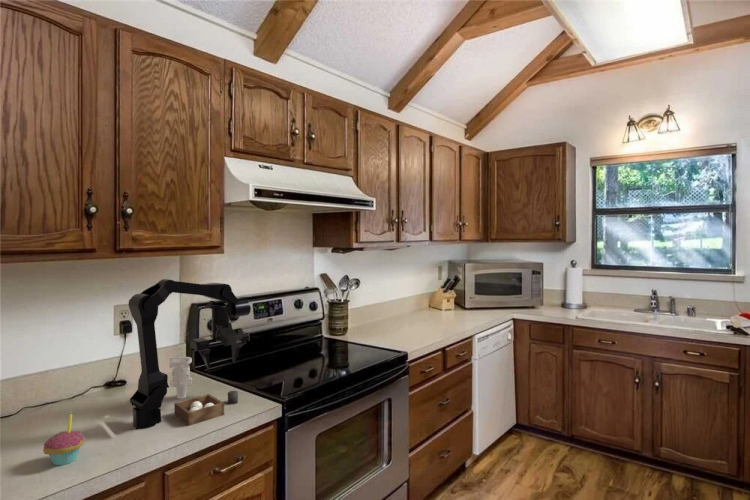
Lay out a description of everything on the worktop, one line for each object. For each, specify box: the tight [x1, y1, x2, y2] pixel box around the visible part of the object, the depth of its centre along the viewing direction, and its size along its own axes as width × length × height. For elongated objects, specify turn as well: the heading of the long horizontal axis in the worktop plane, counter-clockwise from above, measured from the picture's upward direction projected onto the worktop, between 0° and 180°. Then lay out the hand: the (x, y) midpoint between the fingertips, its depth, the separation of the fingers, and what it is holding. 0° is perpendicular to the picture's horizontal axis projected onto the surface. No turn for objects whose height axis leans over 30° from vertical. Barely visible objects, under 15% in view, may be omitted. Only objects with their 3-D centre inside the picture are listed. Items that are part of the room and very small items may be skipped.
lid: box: [227, 390, 239, 405], centre depth 146 cm, size 11×11×5 cm
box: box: [174, 393, 225, 427], centre depth 136 cm, size 11×11×4 cm
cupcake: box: [42, 410, 85, 466], centre depth 110 cm, size 9×8×12 cm
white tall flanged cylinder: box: [169, 355, 193, 400], centre depth 151 cm, size 7×7×15 cm
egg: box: [190, 401, 203, 409], centre depth 137 cm, size 4×4×4 cm
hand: (221, 365), depth 148 cm, fingers open, 9 cm apart
